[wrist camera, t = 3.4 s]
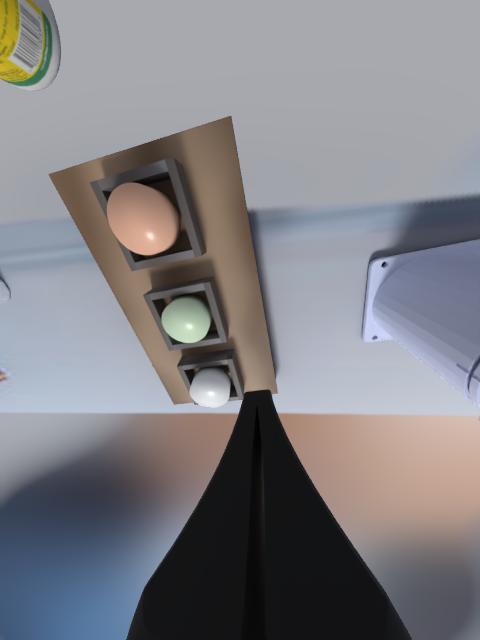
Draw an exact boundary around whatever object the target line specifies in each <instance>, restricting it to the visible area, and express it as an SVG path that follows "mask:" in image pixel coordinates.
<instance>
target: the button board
mask: <svg viewBox="0 0 480 640" xmlns="http://www.w3.org/2000/svg"><path fill="white" fill-rule="evenodd" d="M49 176H50V178H51V180H52V182H53V184H54V185H55V187H56V189H57V191H58V192H59V195H60V196H61V198H62V200H63V202H64V204H65V206H66V207H67V209H68V211H69V212H70V215H71V217H72V218H73V220H74V222H75V224H76V226H77V227H78V229H79V231H80V233H81V235H82V237H83V238H84V240H85V242H86V244H87V246H88V248H89V249H90V251H91V253H92V255H93V257H94V259H95V260H96V262H97V264H98V266H99V268H100V270H101V271H102V273H103V275H104V277H105V279H106V281H107V282H108V284H109V286H110V288H111V290H112V292H113V293H114V295H115V297H116V299H117V301H118V303H119V304H120V306H121V308H122V310H123V312H124V314H125V315H126V317H127V319H128V321H129V323H130V325H131V326H132V328H133V330H134V332H135V334H136V336H137V337H138V339H139V341H140V343H141V345H142V346H143V348H144V350H145V352H146V354H147V356H148V357H149V359H150V361H151V363H152V365H153V367H154V368H155V370H156V372H157V374H158V376H159V378H160V379H161V381H162V383H163V385H164V387H165V389H166V390H167V392H168V394H169V396H170V398H171V400H172V401H173V403H174V405H175V404H184V403H193V402H194V404H195V405H197V404H198V403H196V402H195V401H194V400H193V399H192V398H191V396H190V393H189V391H190V387H191V384H192V381H193V379H194V376H195V374H196V372H197V371H198V370H199V369H201V368H204V367H210V366H212V367H218V368H220V369H222V370H224V371H225V372H227V373H228V375H229V376H230V378H231V386H230V395H229V399H228V401H234V400H243V397H244V393H245V392H248V391H257V390H266V389H269V390H271V394H276V393H278V391H277V385H276V379H275V373H274V367H273V361H272V355H271V349H270V343H269V337H268V331H267V326H266V320H265V314H264V308H263V302H262V296H261V290H260V284H259V278H258V272H257V266H256V260H255V254H254V248H253V242H252V236H251V230H250V225H249V219H248V213H247V207H246V201H245V195H244V189H243V184H242V177H241V171H240V166H239V159H238V153H237V147H236V142H235V135H234V130H233V124H232V118H231V116H229V117H226V118H223V119H220V120H217V121H214V122H210V123H208V124H205V125H201V126H198V127H195V128H192V129H188V130H185V131H183V132H179V133H176V134H173V135H170V136H167V137H164V138H160V139H157V140H154V141H151V142H148V143H145V144H142V145H139V146H136V147H133V148H129V149H127V150H123V151H120V152H117V153H114V154H111V155H107V156H104V157H102V158H98V159H95V160H92V161H89V162H86V163H83V164H80V165H76V166H73V167H70V168H67V169H64V170H61V171H58V172H55V173H52V174H49ZM124 183H138V184H142V185H145V186H148V187H151V188H154V189H156V190H159V191H160V192H162V193H164V194H165V195H166V196H167V197H168V198H169V199H170V200H171V201H172V202H173V204H174V205H175V207H176V209H177V211H178V214H179V217H180V222H181V230H180V235H179V238H178V240H177V242H176V243H175V244H174V245H173V246H172V247H171V248H170V249H167V250H165V251H162V252H159V253H156V254H153V255H141V254H137V253H135V252H133V251H131V250H129V249H128V248H126V247H125V246H124V245H123V244H122V243H121V242H120V241H119V240H118V239H117V238H116V236H115V235H114V233H113V231H112V229H111V227H110V225H109V221H108V217H107V203H108V199H109V197H110V195H111V193H112V192H113V190H114V189H115V188H116V187H118V186H120V185H122V184H124ZM182 294H194V295H197V296H199V297H201V298H203V299H204V300H205V301H206V302H207V303H208V304H209V306H210V308H211V311H212V321H211V324H210V327H209V329H208V332H207V334H206V335H205V337H204V338H203V339H201V340H199V341H197V342H194V343H184V342H180V341H178V340H175V339H174V338H172V337H171V336H170V335H169V334H168V333H167V332H166V331H165V329H164V327H163V325H162V313H163V311H164V309H165V308H166V307H167V306H168V305H169V304H170V303H171V302H172V301H173V300H174V299H175V298H176V297H177V296H179V295H182Z"/></svg>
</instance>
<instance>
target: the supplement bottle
mask: <svg viewBox="0 0 480 640" xmlns="http://www.w3.org/2000/svg"><path fill="white" fill-rule="evenodd" d="M60 58H61V46H60V37H59V31H58V27H57V24H56V20H55V16H54V13H53V11H52V8H51V5H50V3H49V1H48V0H0V79H2V80H4V81H6V82H8V83H10V84H11V85H13V86H15V87H18V88H20V89H23V90H28V91H36V90H40V89H44V88H46V87H48V86H49V85H50V84H51V83H52V82H53V80H54V79H55V77H56V75H57V73H58V70H59V66H60Z"/></svg>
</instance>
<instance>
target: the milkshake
mask: <svg viewBox="0 0 480 640" xmlns="http://www.w3.org/2000/svg"><path fill="white" fill-rule="evenodd" d="M8 300H10V291H9V289H8V288H7V286H6V285H5V283H4V282H3V281H2V280H1V279H0V304H2V303H4V302H6V301H8Z"/></svg>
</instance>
